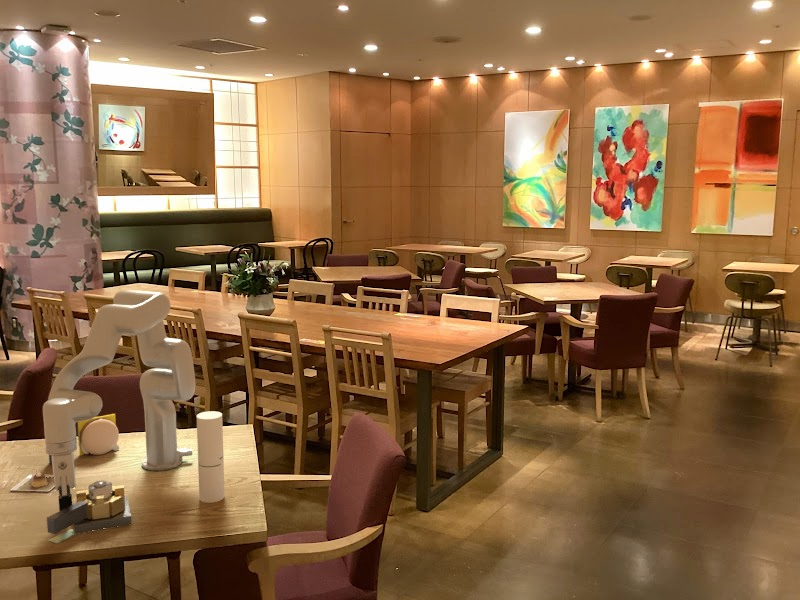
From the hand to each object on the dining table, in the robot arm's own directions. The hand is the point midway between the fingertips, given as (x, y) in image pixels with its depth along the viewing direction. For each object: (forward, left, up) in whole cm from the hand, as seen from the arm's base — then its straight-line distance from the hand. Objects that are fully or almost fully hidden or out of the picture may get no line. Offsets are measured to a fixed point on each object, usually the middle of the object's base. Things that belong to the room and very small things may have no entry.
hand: (66, 509), depth 201 cm
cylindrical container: (-39, -1, -4) cm, 39 cm away
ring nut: (-5, +5, -1) cm, 7 cm away
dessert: (+7, -30, -4) cm, 32 cm away
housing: (-6, +3, -4) cm, 7 cm away
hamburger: (-11, -51, -4) cm, 52 cm away
